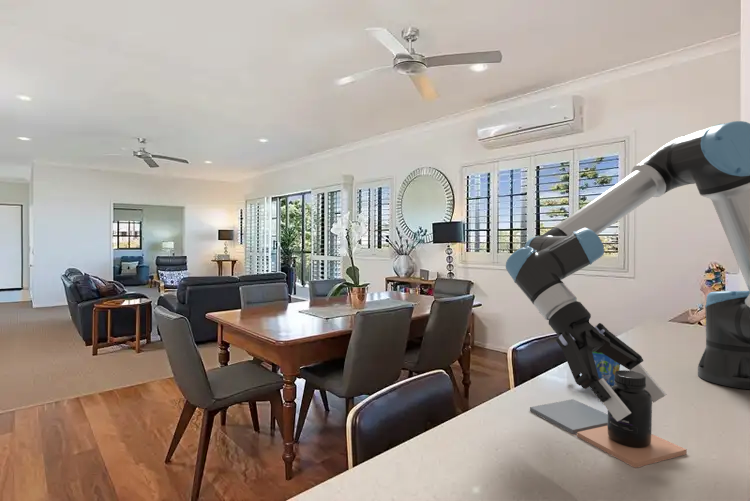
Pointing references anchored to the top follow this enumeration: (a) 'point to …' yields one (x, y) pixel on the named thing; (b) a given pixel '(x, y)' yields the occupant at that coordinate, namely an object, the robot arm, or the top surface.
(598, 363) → the snack cup
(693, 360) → the top surface
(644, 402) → the supplement bottle
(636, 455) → the terracotta pad
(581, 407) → the slate pad
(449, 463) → the top surface
